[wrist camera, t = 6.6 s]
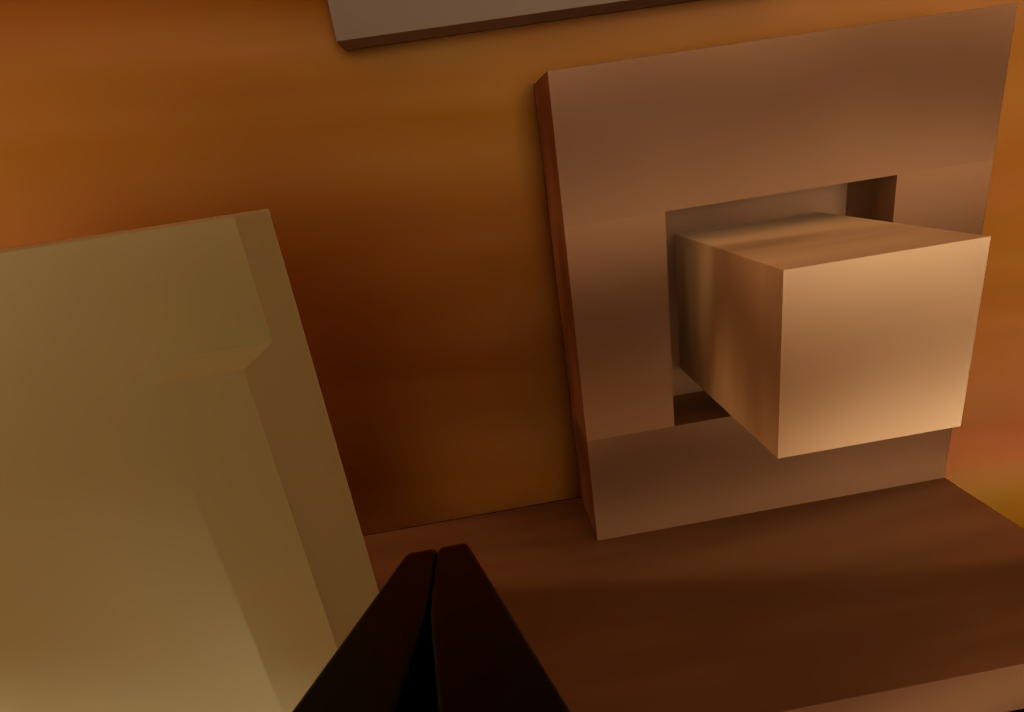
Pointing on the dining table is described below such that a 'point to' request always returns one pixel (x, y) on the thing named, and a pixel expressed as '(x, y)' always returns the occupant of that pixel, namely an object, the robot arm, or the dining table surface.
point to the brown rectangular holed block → (722, 439)
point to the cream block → (830, 326)
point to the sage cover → (167, 477)
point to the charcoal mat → (456, 16)
